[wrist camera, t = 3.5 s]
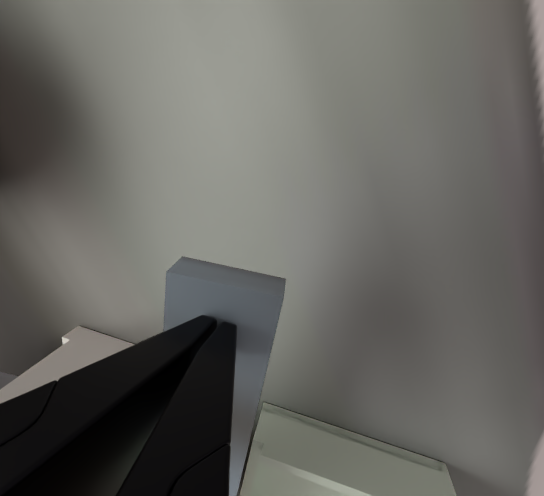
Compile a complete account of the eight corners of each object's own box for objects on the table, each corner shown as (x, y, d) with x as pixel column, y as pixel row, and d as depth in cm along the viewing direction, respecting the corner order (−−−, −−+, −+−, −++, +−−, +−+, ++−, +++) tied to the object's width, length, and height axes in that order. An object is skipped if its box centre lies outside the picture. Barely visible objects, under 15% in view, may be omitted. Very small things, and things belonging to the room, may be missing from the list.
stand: (140, 481, 19) (52, 631, 13) (90, 460, 20) (-17, 596, 14) (142, 347, 15) (10, 481, 9) (78, 325, 15) (-87, 438, 9)
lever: (230, 505, 17) (203, 644, 12) (-3, 450, 17) (-115, 563, 13) (289, 243, 10) (280, 324, 6) (-83, 164, 11) (-374, 179, 6)
